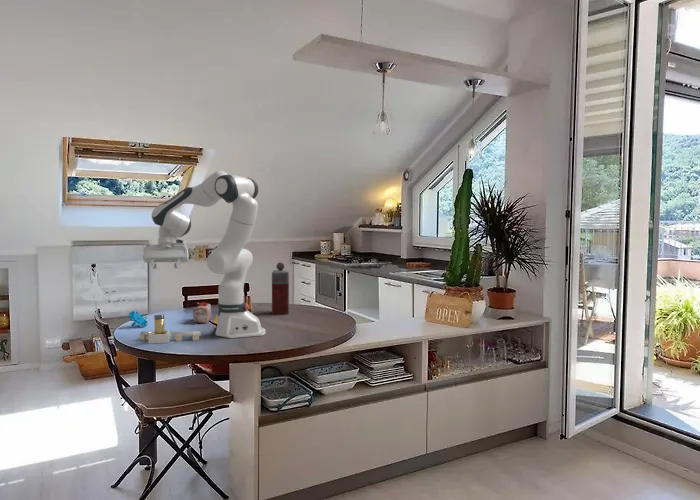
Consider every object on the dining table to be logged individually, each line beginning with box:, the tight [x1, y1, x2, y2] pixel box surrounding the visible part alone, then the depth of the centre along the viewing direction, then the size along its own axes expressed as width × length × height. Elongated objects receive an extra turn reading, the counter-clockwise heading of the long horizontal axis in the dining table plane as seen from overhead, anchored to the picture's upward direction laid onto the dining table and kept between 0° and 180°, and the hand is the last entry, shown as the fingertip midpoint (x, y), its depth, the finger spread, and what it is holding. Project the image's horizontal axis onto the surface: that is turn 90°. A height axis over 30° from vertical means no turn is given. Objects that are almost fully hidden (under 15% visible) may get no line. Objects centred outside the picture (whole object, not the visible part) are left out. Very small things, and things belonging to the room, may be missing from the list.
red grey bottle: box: [271, 261, 290, 316], centre depth 293 cm, size 9×11×28 cm
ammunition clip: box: [243, 295, 253, 314], centre depth 278 cm, size 11×2×12 cm, turn 88°
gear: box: [128, 310, 148, 328], centre depth 257 cm, size 11×6×10 cm
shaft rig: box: [147, 330, 202, 344], centre depth 230 cm, size 21×8×4 cm, turn 102°
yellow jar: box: [153, 314, 166, 335], centre depth 228 cm, size 4×4×10 cm
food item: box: [192, 301, 212, 324], centre depth 270 cm, size 14×8×10 cm, turn 8°
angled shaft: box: [139, 330, 151, 341], centre depth 231 cm, size 4×4×4 cm
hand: (165, 267), depth 245 cm, fingers open, 8 cm apart
